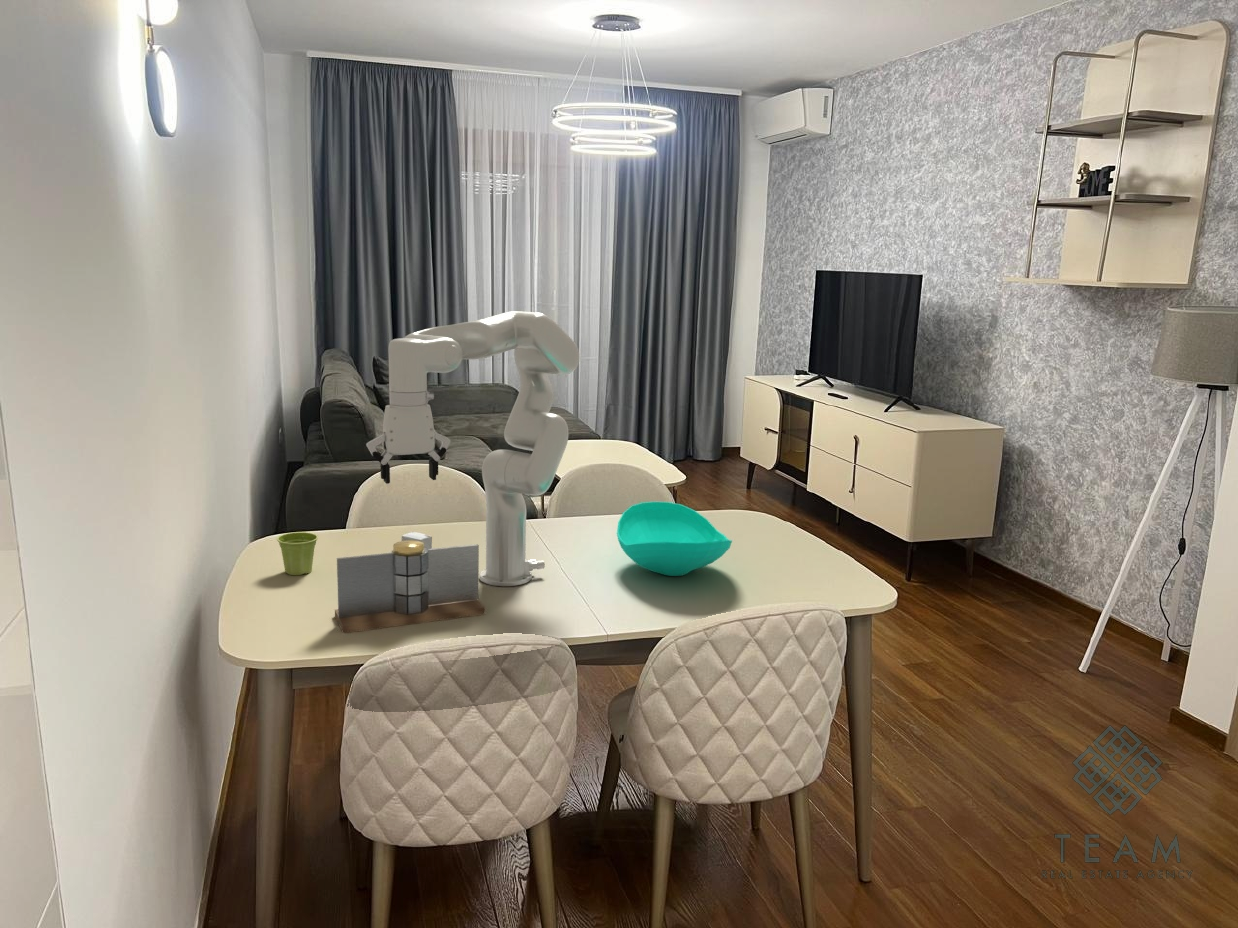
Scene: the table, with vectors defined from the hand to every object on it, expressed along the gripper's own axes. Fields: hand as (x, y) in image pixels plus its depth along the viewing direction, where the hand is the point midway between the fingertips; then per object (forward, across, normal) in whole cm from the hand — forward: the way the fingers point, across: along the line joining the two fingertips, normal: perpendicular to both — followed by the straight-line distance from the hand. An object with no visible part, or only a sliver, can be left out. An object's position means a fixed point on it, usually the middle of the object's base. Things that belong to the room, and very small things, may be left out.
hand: (409, 480), depth 197 cm
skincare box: (+30, -6, -19) cm, 36 cm away
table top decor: (+31, -68, -7) cm, 74 cm away
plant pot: (+30, +18, -38) cm, 52 cm away
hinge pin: (+27, +1, 0) cm, 27 cm away
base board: (+30, 0, 0) cm, 30 cm away
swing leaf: (+28, -5, 0) cm, 28 cm away
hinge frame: (+28, +6, 0) cm, 29 cm away
